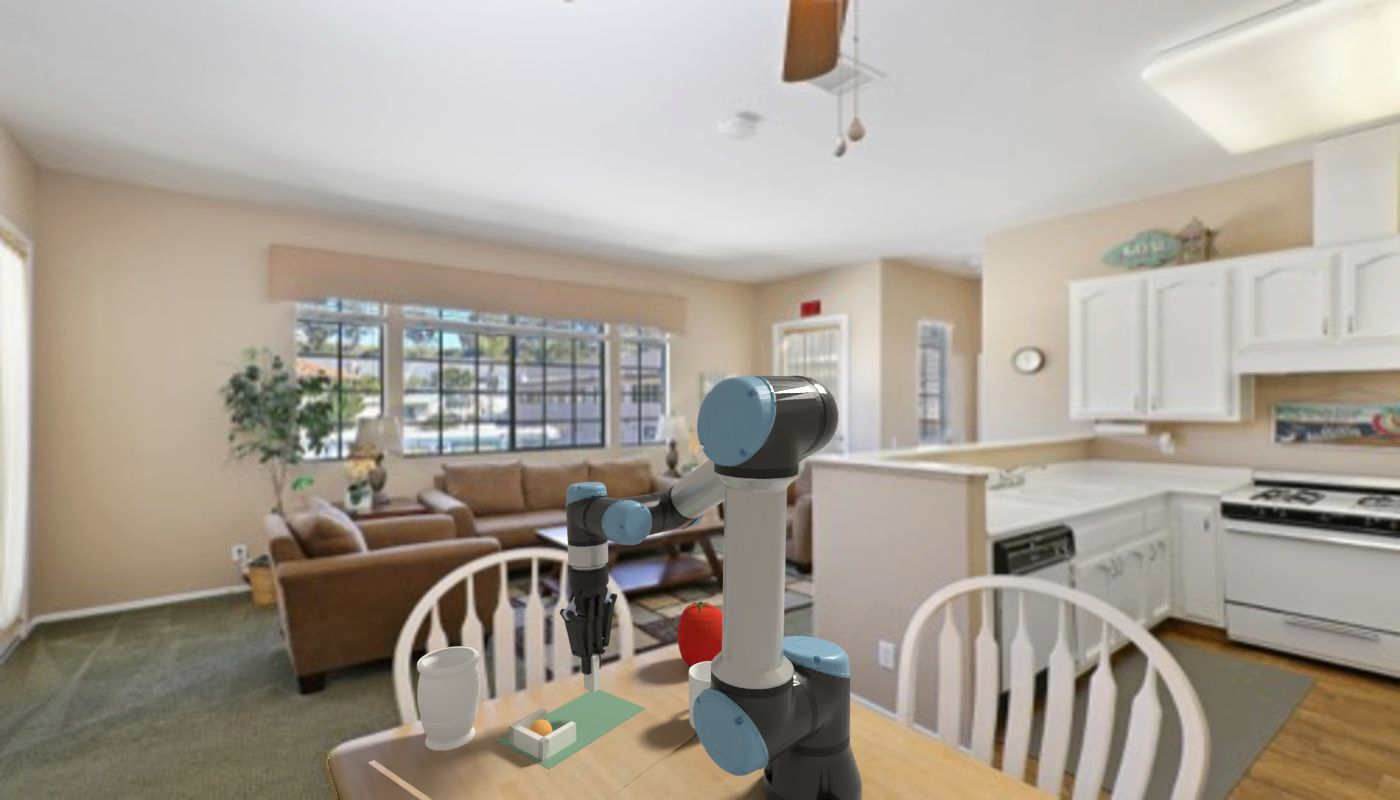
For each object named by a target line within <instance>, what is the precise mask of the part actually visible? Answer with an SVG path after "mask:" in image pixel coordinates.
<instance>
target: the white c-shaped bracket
mask: <svg viewBox="0 0 1400 800" xmlns="http://www.w3.org/2000/svg"><path fill="white" fill-rule="evenodd" d="M547 714H548V710H547V709H545V708H543V707H542V708H540V709H538V710H536V711H535V712H532V713H531V714H528V715H527V716H525V717H523V718H521V719H519V720H517V721H515V722H513V723H511V724H510V725H509V726H508V730H509V731H508V733H509V734H508V735H509V744H511V745H513V746H515V747H517V748H519V749H521V750H523V751H524V752H526V753H528V754H530V755H532V756H534V757H536V758H538V759H540V760H542V761H544V760H546V759H548V758H549V757H551V756H553V755H554V754H556V753H558V752H559V751H561V750H562V749H564V748H566V747H567V746H569V745H571V744H572V743H574V742H576V723H574V722H572V721H571V722H569V723H567V724H566V725H564V726H562V727H560V728H559V729H557V730H555V731H553V732H552V733H550V734H548V735H546V736H545V737H543V736H541V735H539V734H537V733H535V732H533V731H531V730H529V729H530V727H531V725H532V724H533V723H534V722H535V721H537V720H541V719H542V720H546V721H547Z"/></svg>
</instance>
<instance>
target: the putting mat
mask: <svg viewBox="0 0 1400 800" xmlns="http://www.w3.org/2000/svg"><path fill="white" fill-rule="evenodd" d="M646 709H647V708H646V707H644V706H642V705H641V704H636V703H634V702H632V701H630V700H627V699H624V698H622V697H618V696H616V695H614V694H611V693H609V692H606V691H603V690H601V689H599V690H597V691H595V692H593V691H590V690H588V691H587V692H585V693H582V694H581V695H579V696H578V697H576V698H574V699H572V700H570V701H568V702H566V703H565V704H563V705H561V706H559V707H557V708H555V709H553V710H551V711H550V712H547V721H548V722H549V723H550V725H551V727H552V732H553V731H555V730H557V729H559V728H560V727H562V726H564V725H566V724H567V723H569V722H571V721H572V722H574V723H576V742H574V743H572V744H571V745H569V746H567V747H566V748H564V749H562V750H561V751H559V752H558V753H556V754H554V755H553V756H551V757H549V758H548V759H546V760H544V761H542V760H540V759H538V758H536V757H534V756H532V755H530V754H528V753H526V752H524V751H523V750H521V749H519V748H517V747H515V746H513V745H511V744H509V734H507V735H506V736H503V737H502V738H500V739H498V740H496V742H497V743H499V744H501V745H503V746H505V747H506V748H509V750H512V751H514V752H515V753H518V754H519V755H522V756H524V757H525V758H527V759H530V760H531V761H533V762H535V763H537V764H538V765H541V766H543V767H544V768H546V769H548V770H551V769H553V768H554V767H555V766H557V765H558V764H560V763H562V762H564V761H565V760H566V759H568V758H570V757H571V756H573V755H574V754H576V753H577V752H579V751H580V750H582V749H584V748H585V747H587V746H588V745H590V744H592V743H593V742H595V741H596V740H599V739H600V738H601V737H603V736H604V735H606V734H607V733H610V731H613V730H614V729H615V728H617V727H619V726H620V725H621V724H623V723H625V722H627V721H628V720H631V719H632V717H635V716H636V715H638V714H640V713H641V712H643V711H644V710H646Z"/></svg>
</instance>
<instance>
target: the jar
mask: <svg viewBox="0 0 1400 800" xmlns="http://www.w3.org/2000/svg"><path fill="white" fill-rule="evenodd" d="M480 656H481V655H480V651H479V650H478V649H477V648H474V647H471V646H463V645H461V646H460V645H459V646H449V647H443V648H439V649H436V650H433V651H430V652H428V653H426V654H425V655H423V656H422V657H421V658H420V659H419V660H418V661H417V664H416V669H417V672H418V673H419V677H418V681H417V707H418V712H419V715H420V722H421V725H422V726H421V727H422V729H423V731H424V733H425V735H426V738H425V741H424V745H425V747H426V748H427V749H429V750H432V751H439V752H440V751H448V750H453V749H458V748H460V747H461V746H464V745H467V743H469V742H470V741H471V740H472V739H474V737H475V735H476V729H475V728H474V725H475V722H476V719H477V717H478V711H479V703H480V697H481V676H480V670H479V666H478V663H479V660H480Z"/></svg>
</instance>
